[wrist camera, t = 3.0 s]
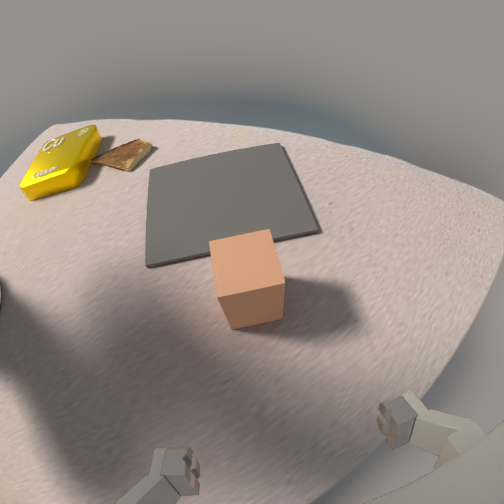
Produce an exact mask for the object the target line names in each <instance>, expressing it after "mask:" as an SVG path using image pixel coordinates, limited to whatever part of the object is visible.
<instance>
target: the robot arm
mask: <svg viewBox="0 0 504 504" xmlns="http://www.w3.org/2000/svg"><path fill="white" fill-rule="evenodd" d="M0 303H1V287H0ZM378 409H379V411H380V413H379V415H378V417H377V422H378V427H379V429H380V431H381V433H382V434H385V435H387V439H386V441H387V442H388V444H389V445H390V447H391V448H392V450H393V449H395V448H397V447H400V446H402V445H404V444H406V443H408V442H409V443H410V444H412V445H414V446H416V447H418V448H421V449H423V450H425V451H427V452H430V453H432V454H434V455H436V456H439V458H438V460H437V462H436V464H435V466H434V468H435V470H434V471H432V472H430V473H428V474H427V475H425V476H423V477H421V478H419V479H417V480H416V481H414V482H411V483H410V484H408V485H406V486H403V487H401V488H399V489H398V490H395V491H393V492H391V493H388V494H386V495H384V496H381V497H379V498H376V499H374V500H372V501H369V502H367V503H364V504H504V421H503V422H502V423H501V424H499V425H498V426H497V427H496V428H494V429H493V430H492V431H491V432H489V433H488V434H486V433H485V432H484V431H483V430H482V429H481V428H480V427H479V426H478V425H477V424H476V423H475V422H474V420H472V419H468V418H464V417H460V416H455V415H451V414H447V413H443V412H440V411H436V410H432V409H431V410H428V409H427V408H426V407H425V406H424V405H423V404H422V402H421V401H420V400H419V399H418V398H417V397H416V396H415V395H414V393H413V392H412V391H410V390H409V391H407V392H405V393H403V394H400V395H398V396H396V397H393V398H391V399H389V400H386V401H384V402H382V403H380V404H379V408H378ZM192 454H193V452H192V450H191V448H190V447H185V448H156V449H155V450H154V453H153V458H152V462H151V467H150V472H149V476H145V477H144V478H143V479H141V480H140V481H139V482H138V483H137V484H136V485H135V486H134V487H133V488H132V489H130V490H129V491H128V492H127V493H126V494H125V495H124V496H122V497H121V498H120V499H119V500H118V501H117V502H115V503H114V504H176V503H177V501H178V500H179V499H180V497H181V496H191V495H199V490H200V483H199V482H198V480H197V479H198V478H199V476H200V466H199V463H198V460H197V458H196V457H194V456H192Z"/></svg>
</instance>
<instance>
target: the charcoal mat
mask: <svg viewBox="0 0 504 504" xmlns="http://www.w3.org/2000/svg"><path fill="white" fill-rule="evenodd" d="M266 229H270V232H271V235H272V239H273V242H274V241H279V240H283V239H288V238H293V237H298V236H303V235H308V234H313V233H318V227H317V225H316V223H315V220H314V218H313V215H312V213H311V211H310V208H309V206H308V204H307V201H306V199H305V197H304V195H303V192H302V190H301V188H300V186H299V183H298V181H297V179H296V177H295V175H294V172H293V170H292V168H291V166H290V164H289V162H288V160H287V157H286V155H285V153H284V151H283V149H282V147H281V145H280V143H275V144H268V145H262V146H256V147H250V148H244V149H239V150H233V151H228V152H223V153H218V154H213V155H208V156H204V157H199V158H195V159H190V160H186V161H182V162H178V163H174V164H170V165H166V166H162V167H158V168H154V169H150V175H149V187H148V202H147V221H146V267H147V268H149V267H154V266H159V265H163V264H168V263H173V262H178V261H182V260H187V259H192V258H197V257H201V256H206V255H211V253H210V246H209V241H213V240H217V239H222V238H227V237H232V236H237V235H241V234H246V233H251V232H256V231H261V230H266Z"/></svg>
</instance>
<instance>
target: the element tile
mask: <svg viewBox="0 0 504 504" xmlns="http://www.w3.org/2000/svg"><path fill="white" fill-rule="evenodd" d="M101 143H102V138H101V136H100V134H99V132H98V129H97V127H96V125H89V126H86V127H83V128H81V129H78V130H75V131H72V132H70V133H67V134H64V135H62V136H59V137H57V138H54V139H52V140H50V141H47V142H46V143H45V144H44V145H43V147H42V148H41V150H40V151H39V153H38V154H37V156H36V157H35V159H34V161H33V162H32V164H31V166H30V167H29V169H28V171H27V172H26V174H25V176H24V178H23V179H22V181H21V183H20V189H21V190H22V191H23V193H24V194H25V195H26V197H27V198H28V199H29V200H30V201H33V200H36V199H39V198H42V197H46V196H49V195H52V194H55V193H59V192H62V191H66V190H69V189H73V188H75V187H77V186H78V185H80V184H81V183H82V181H83V180H84V179H85V177H86V174H87V172H88V170H89V168H90V165H91V163H92V161H90V159H93V158H94V157H95V155H96V153H97V151H98V149H99V147H100V145H101Z"/></svg>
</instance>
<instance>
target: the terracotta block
mask: <svg viewBox="0 0 504 504" xmlns="http://www.w3.org/2000/svg"><path fill="white" fill-rule="evenodd" d="M209 246H210V253H211V260H212V267H213V274H214V280H215V287H216V293H217V298H218V300H219V303H220V305H221V307H222V309H223V311H224V313H225V316H226V318H227V320H228V322H229V324H230V326H231V329H232V330H233V329H238V328H243V327H248V326H253V325H258V324H262V323H267V322H271V321H276V320H280V319H283V308H284V295H285V280H284V276H283V273H282V269H281V266H280V263H279V259H278V256H277V252H276V249H275V245H274V242H273V239H272V235H271V232H270V229H266V230H261V231H256V232H251V233H246V234H241V235H237V236H232V237H227V238H222V239H217V240H213V241H209Z"/></svg>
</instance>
